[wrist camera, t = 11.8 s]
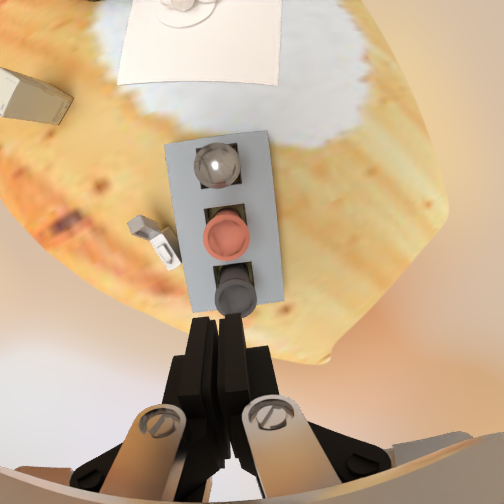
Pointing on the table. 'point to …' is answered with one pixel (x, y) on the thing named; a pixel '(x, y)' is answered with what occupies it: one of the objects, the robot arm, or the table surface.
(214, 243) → the plug red
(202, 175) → the plug grey
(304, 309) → the table surface
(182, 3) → the teacup and saucer
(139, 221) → the grey white bent piece
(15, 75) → the skincare box
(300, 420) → the robot arm
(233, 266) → the plug black
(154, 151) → the table surface
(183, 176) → the socket board
